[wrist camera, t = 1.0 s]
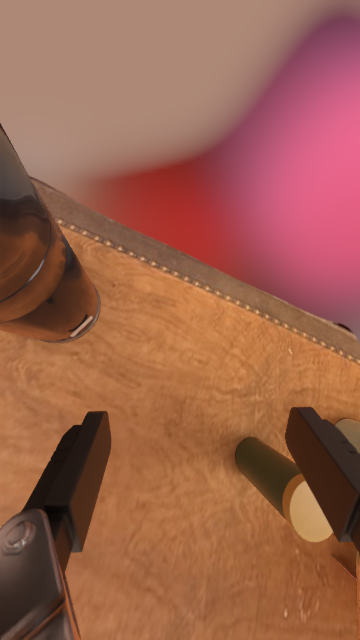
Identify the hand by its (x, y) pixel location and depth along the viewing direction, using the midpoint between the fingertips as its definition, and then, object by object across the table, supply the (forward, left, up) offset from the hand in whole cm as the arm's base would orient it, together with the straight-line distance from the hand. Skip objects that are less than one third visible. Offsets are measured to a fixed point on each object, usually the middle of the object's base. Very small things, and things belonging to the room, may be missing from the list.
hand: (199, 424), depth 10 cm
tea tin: (+15, +4, -20) cm, 25 cm away
